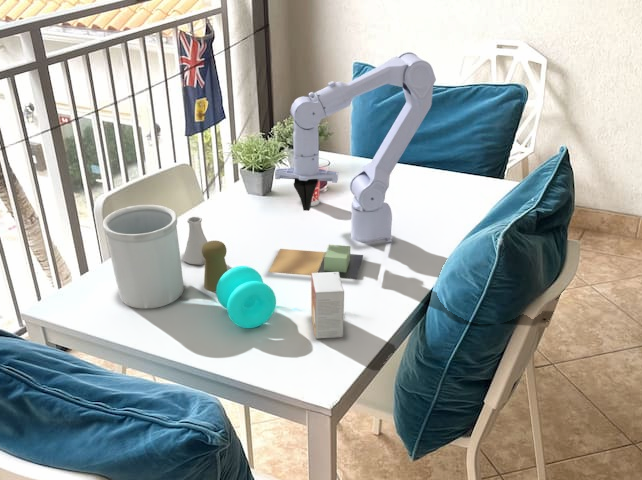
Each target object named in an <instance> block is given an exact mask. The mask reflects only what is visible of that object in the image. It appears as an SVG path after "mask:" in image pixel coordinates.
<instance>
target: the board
mask: <svg viewBox="0 0 642 480" xmlns="http://www.w3.org/2000/svg"><path fill="white" fill-rule="evenodd" d="M325 254H326V251H316V250H315V251H314V250H303V249H291V248H290V249H288V248H280V249H279V250H278V252H277V254H276V256H275V258H274V260H273V261H272V263H271V266H270V267H269V269H268V273H274V274H275V273H276V274H287V275H300V276H311V273H323V272H334V271H324V256H325ZM363 258H364V254H354V253H350V262H349V265H348V268H347V271H346V272H339V274H340V279H349V280H357V278H358V275H359V272H360V268H361V265H362V261H363Z"/></svg>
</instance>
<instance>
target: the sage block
mask: <svg viewBox="0 0 642 480" xmlns="http://www.w3.org/2000/svg"><path fill="white" fill-rule="evenodd" d="M351 248H352V247H351V246H350V245H341V244H340V245H339V244H328V246H327V249H326V251H325V253H326V254H325V256H324V257H323V258H324V271H334V272H346V271H347V268H348V265H349V262H350V254H351V250H352V249H351Z"/></svg>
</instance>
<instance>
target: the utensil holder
mask: <svg viewBox="0 0 642 480" xmlns="http://www.w3.org/2000/svg"><path fill="white" fill-rule="evenodd" d="M177 215H178V214H177V213H176V212H175V211H174V210H173V209H171V208H169V207H167V206H163V205H157V204H138V205H130V206H126V207H122V208H119V209H117V210H114V211H113V212H110V213H109V214H108V215H106V216H105V217H104V219H103V220H102V229H103V232H104V233H105V237H106V241H107V245H108V246H107V247H108V250H109V255H110V260H111V264H112V268H113V273H114V279H115V282H116V285H117V290H118V294H119V298H120V300H121V302H122V303H124V305H126V306H127V307H131V308H134V309H141V310H143V309H145V310H147V309H148V310H149V309H157V308H162V307H165V306H168V305H169V304H172V303H174V302H176V301H177V300H178V299H179V298H180V297H181V296H182V295H183V293H184V289H185V288H184V280H183V279H184V278H183V268H182V260H181V252H180V251H181V250H180V244H179V234H178V226H177V225H178V216H177Z"/></svg>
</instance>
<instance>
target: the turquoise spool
mask: <svg viewBox="0 0 642 480" xmlns="http://www.w3.org/2000/svg"><path fill="white" fill-rule="evenodd" d="M227 270H228V271H227V272H225V273H224V274H223V275H222V277H221V278H220V280H219V281H218V284H217V288H216V292H215V295H216V298H217V301H218V302H219V304H220V305H221V306H222V307H223V308H224V309H226V310H227V311H226V312H227V315H228V317H229V319H230V320H231V322H232V324H234V325H236V326H238V327H239V328H244V329H254V328H258V327H261V326H262V325H264V324H265V323H267V322H268V321H269V320H270V318H271V317H272V316H273V315H274V313H275V310H276V306H277V298H276V294H275V292H274V290H273V289H272V287H271V286H269V284H267V283H265V282H264V279H263V277H262V276H261V274H260V273H259V272H258V270H256V269H255V268H252V267H250V266H247V265H239V266H234V267H232V268H230V269H227Z"/></svg>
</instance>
